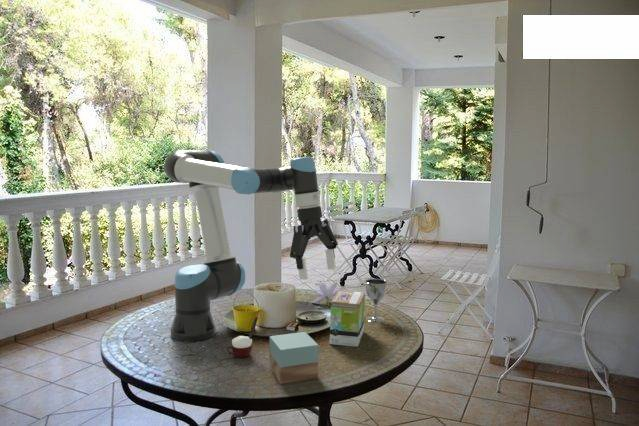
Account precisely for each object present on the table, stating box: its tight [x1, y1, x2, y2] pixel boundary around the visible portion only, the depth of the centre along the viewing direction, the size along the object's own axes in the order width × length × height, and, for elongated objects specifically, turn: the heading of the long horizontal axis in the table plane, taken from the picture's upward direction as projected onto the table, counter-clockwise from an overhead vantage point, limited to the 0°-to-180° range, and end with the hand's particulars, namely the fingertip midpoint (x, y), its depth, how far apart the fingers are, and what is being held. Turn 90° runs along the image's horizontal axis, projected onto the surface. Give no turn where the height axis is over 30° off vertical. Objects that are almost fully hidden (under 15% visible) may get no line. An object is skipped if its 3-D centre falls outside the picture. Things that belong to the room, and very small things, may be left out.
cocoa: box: [226, 315, 259, 359], centre depth 158 cm, size 10×6×12 cm, turn 87°
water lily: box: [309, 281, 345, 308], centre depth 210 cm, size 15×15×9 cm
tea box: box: [329, 290, 366, 348], centre depth 173 cm, size 15×10×15 cm
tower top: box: [269, 331, 319, 367], centre depth 145 cm, size 11×11×5 cm
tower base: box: [269, 353, 319, 385], centre depth 146 cm, size 11×11×5 cm
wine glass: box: [365, 278, 388, 324], centre depth 193 cm, size 8×8×15 cm
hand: (318, 274), depth 159 cm, fingers open, 13 cm apart
